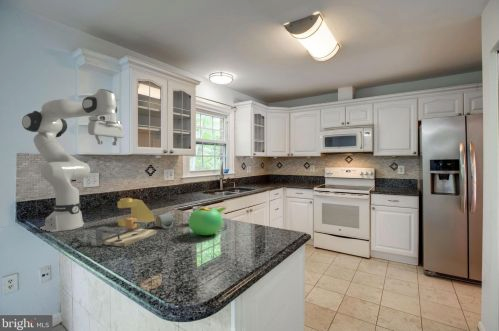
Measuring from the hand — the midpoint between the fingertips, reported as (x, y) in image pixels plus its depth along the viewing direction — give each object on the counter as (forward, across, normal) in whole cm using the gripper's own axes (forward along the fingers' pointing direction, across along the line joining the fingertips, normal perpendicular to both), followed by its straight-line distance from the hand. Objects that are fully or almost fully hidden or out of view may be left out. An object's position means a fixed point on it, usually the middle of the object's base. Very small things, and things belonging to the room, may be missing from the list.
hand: (107, 144), depth 133 cm
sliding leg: (+46, -3, +16) cm, 48 cm away
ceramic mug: (+48, -17, +24) cm, 57 cm away
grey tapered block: (+48, +7, +16) cm, 51 cm away
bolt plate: (+48, +6, +21) cm, 53 cm away
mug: (+48, -28, +39) cm, 68 cm away
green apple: (+48, -10, +54) cm, 73 cm away
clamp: (+48, -20, -1) cm, 52 cm away
